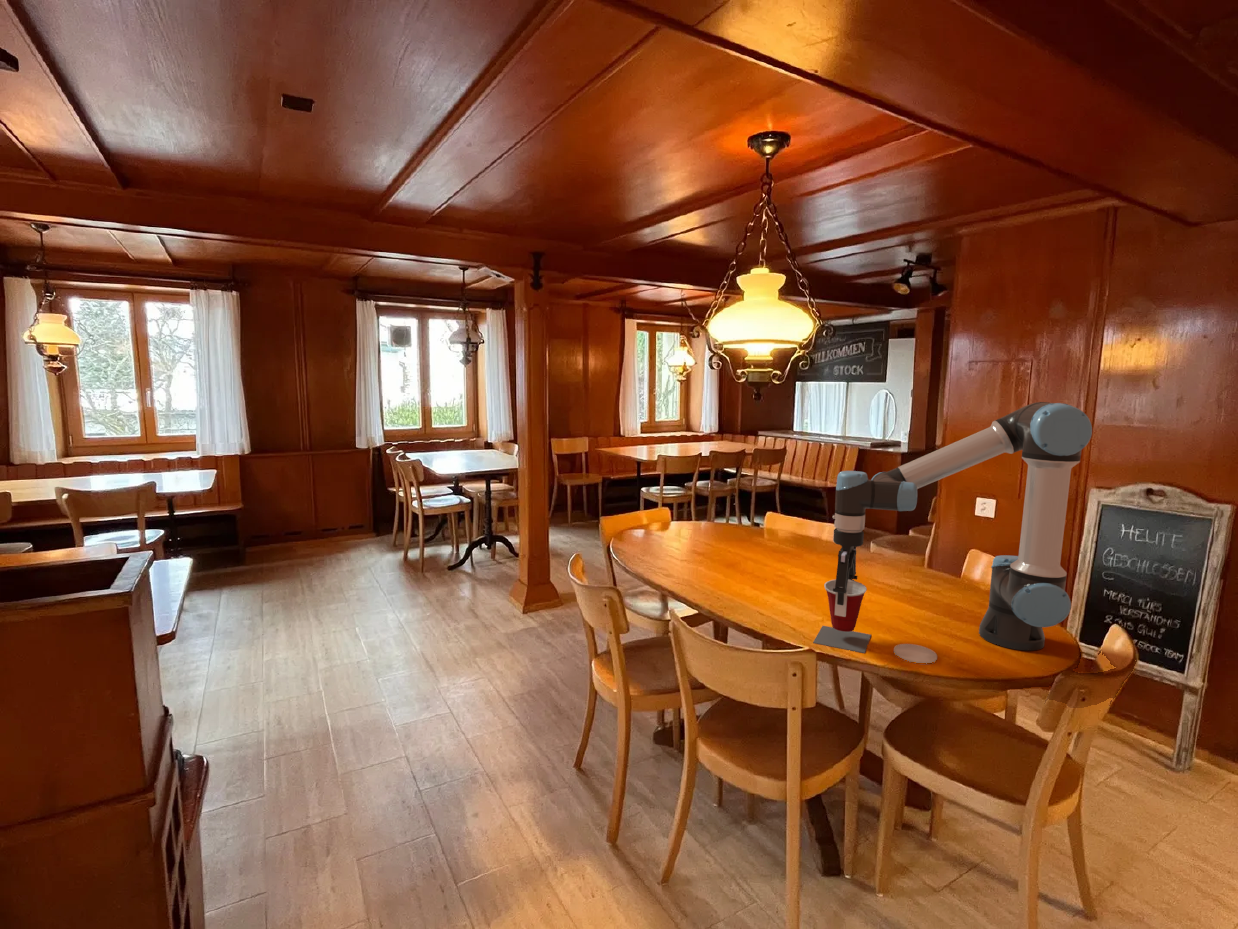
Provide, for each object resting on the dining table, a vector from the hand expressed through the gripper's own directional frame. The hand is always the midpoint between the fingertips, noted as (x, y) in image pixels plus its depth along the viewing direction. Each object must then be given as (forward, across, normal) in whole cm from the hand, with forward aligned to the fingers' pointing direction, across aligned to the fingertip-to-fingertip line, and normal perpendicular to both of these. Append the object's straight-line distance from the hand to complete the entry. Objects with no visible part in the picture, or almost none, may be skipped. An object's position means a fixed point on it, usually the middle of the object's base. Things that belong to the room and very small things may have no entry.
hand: (844, 608), depth 167 cm
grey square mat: (+9, 0, 0) cm, 9 cm away
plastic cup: (+6, 0, 0) cm, 6 cm away
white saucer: (+9, +1, +18) cm, 20 cm away
